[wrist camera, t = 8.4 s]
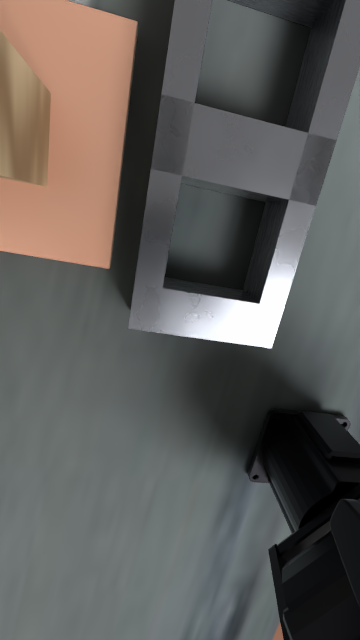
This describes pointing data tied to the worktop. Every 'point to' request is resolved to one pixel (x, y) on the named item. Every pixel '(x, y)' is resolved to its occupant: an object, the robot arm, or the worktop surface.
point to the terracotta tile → (72, 129)
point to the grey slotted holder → (242, 172)
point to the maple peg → (22, 119)
